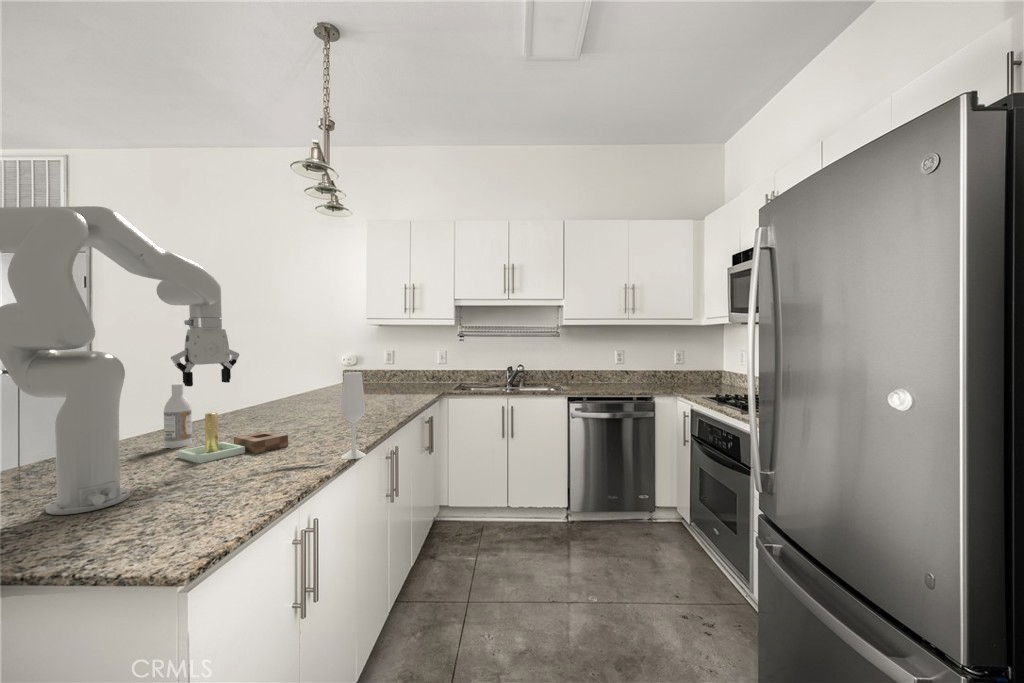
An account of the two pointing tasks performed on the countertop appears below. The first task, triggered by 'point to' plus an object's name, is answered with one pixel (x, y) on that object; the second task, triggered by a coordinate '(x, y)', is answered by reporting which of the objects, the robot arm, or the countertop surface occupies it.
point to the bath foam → (177, 419)
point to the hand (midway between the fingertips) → (207, 384)
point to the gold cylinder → (211, 432)
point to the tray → (200, 453)
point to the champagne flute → (353, 407)
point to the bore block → (262, 441)
